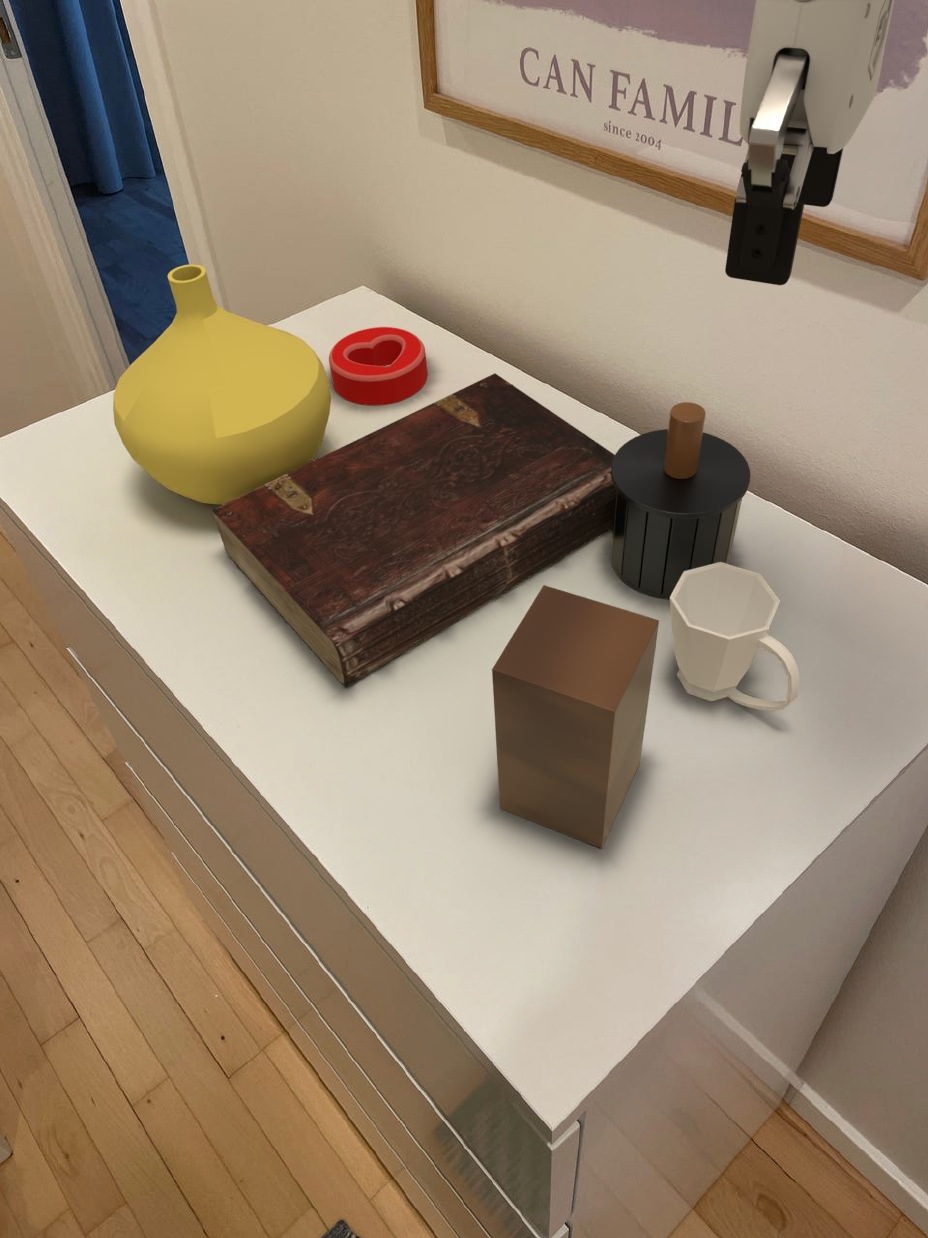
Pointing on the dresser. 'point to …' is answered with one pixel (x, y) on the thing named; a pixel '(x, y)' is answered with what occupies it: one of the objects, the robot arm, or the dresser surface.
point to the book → (419, 522)
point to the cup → (725, 633)
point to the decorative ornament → (378, 366)
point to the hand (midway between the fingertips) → (780, 238)
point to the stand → (572, 712)
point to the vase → (220, 399)
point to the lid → (681, 469)
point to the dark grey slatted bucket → (666, 546)
